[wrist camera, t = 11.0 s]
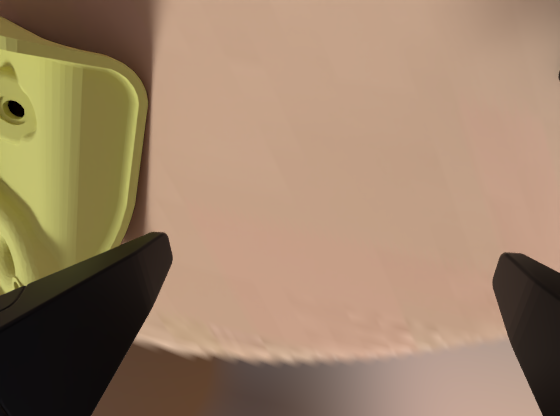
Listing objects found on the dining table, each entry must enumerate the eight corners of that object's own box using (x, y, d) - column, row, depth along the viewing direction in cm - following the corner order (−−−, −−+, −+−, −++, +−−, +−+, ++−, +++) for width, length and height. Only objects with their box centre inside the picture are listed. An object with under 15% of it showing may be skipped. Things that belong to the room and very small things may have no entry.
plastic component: (-82, -9, 18) (-2, 40, 14) (66, 25, 24) (153, 66, 20) (-41, 276, 26) (17, 360, 22) (61, 248, 32) (121, 309, 28)
